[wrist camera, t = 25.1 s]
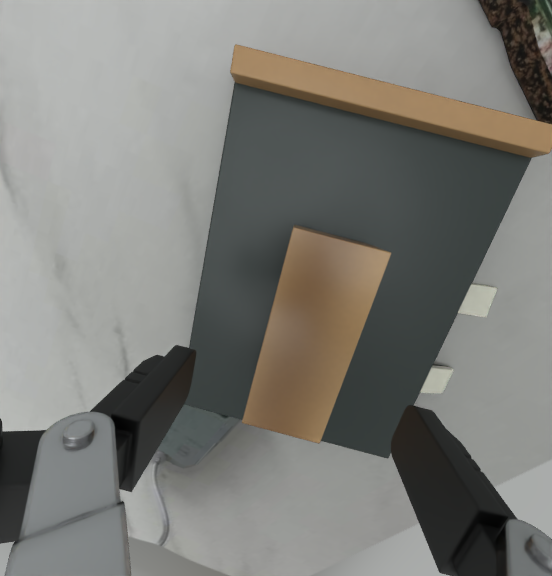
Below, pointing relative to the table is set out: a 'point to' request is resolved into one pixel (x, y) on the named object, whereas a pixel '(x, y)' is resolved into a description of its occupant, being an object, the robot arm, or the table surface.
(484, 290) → the chalk mark
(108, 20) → the table surface
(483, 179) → the board
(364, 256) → the eraser
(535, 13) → the topographical map
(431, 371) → the off-white small block
